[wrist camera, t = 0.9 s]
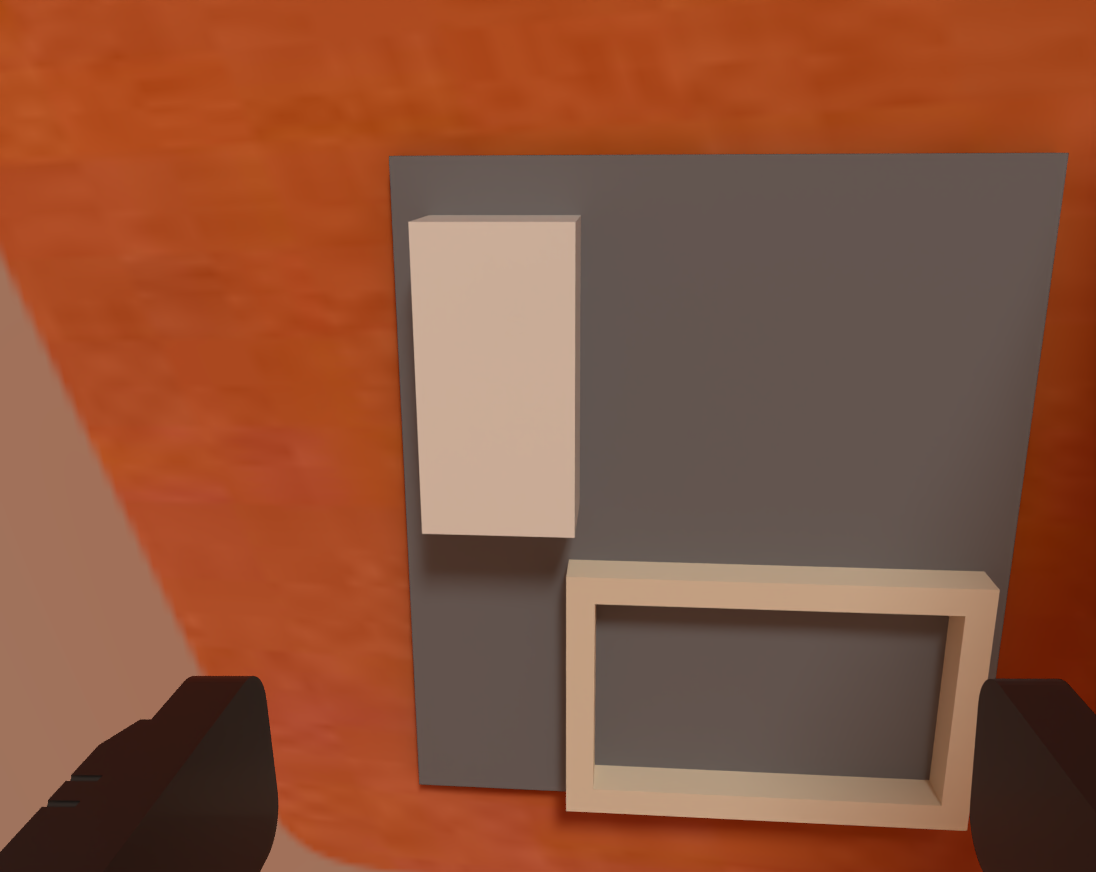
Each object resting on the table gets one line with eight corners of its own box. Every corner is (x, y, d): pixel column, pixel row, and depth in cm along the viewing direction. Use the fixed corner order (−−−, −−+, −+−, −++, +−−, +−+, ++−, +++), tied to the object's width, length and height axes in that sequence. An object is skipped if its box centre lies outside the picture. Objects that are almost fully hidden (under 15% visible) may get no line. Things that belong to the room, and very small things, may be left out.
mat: (394, 155, 26) (377, 156, 24) (1058, 152, 25) (1090, 152, 23) (423, 772, 31) (411, 809, 30) (970, 798, 30) (991, 837, 28)
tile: (429, 215, 26) (408, 221, 23) (581, 214, 25) (575, 221, 23) (440, 500, 28) (422, 533, 26) (579, 504, 28) (574, 537, 25)
